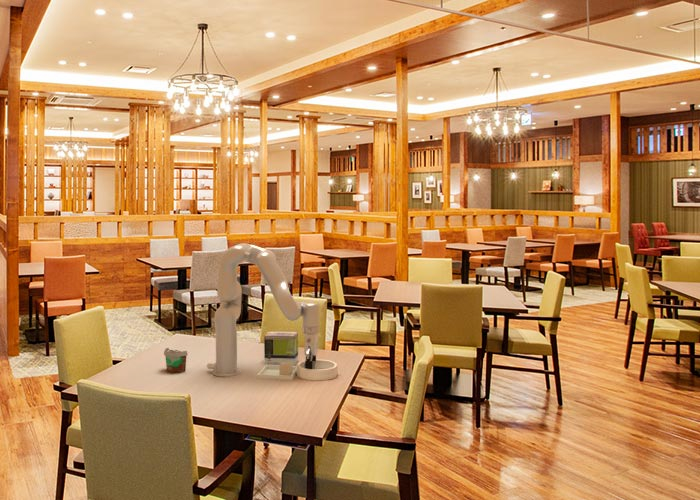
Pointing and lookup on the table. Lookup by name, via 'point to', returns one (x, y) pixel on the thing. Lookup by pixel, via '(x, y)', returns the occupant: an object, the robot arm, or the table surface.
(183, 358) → the food container
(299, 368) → the bowl
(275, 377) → the tray
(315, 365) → the slate cube
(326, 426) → the table surface
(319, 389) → the table surface
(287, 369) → the sandstone cube
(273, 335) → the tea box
